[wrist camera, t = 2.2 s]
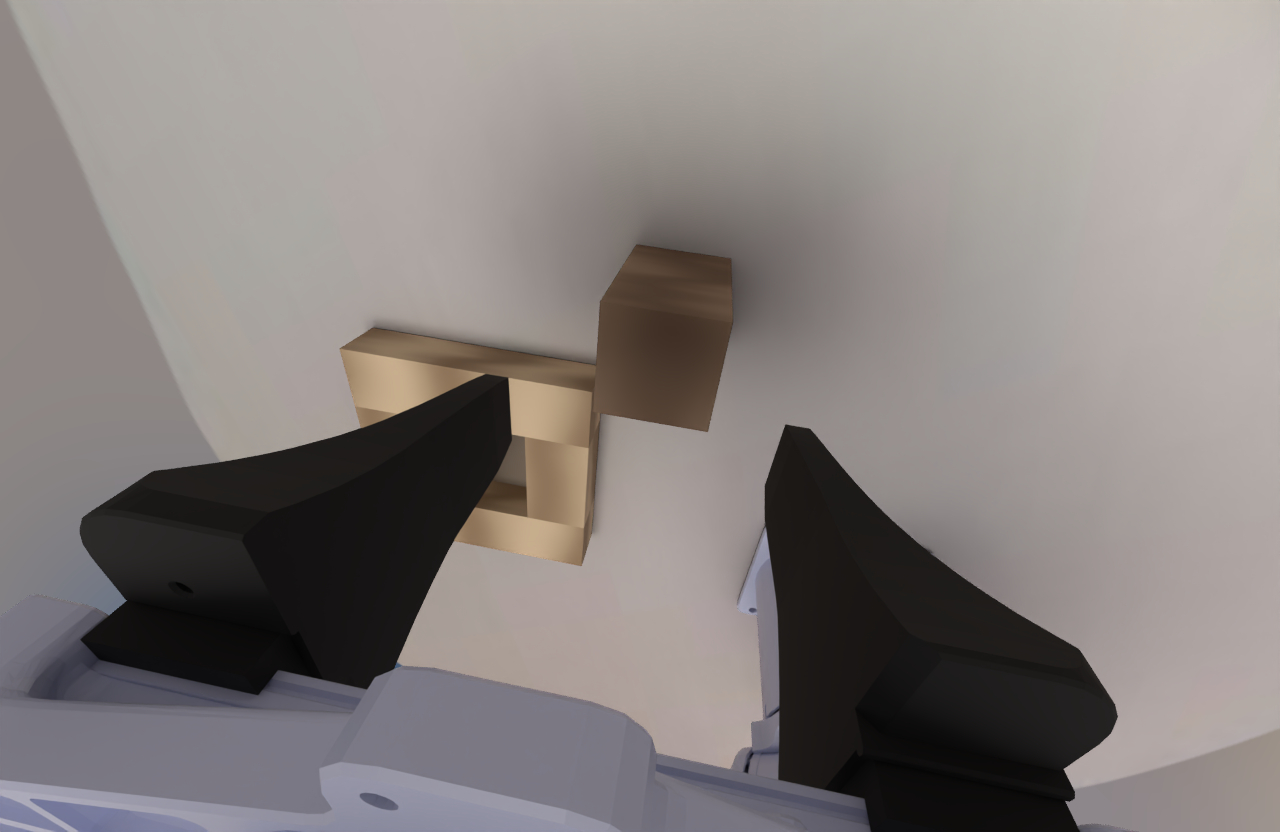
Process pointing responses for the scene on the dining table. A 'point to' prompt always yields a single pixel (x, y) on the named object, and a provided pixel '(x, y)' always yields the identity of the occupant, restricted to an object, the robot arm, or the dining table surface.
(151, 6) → the dining table surface
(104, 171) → the dining table surface
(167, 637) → the robot arm
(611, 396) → the walnut peg
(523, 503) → the oak socket block
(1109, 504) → the dining table surface
